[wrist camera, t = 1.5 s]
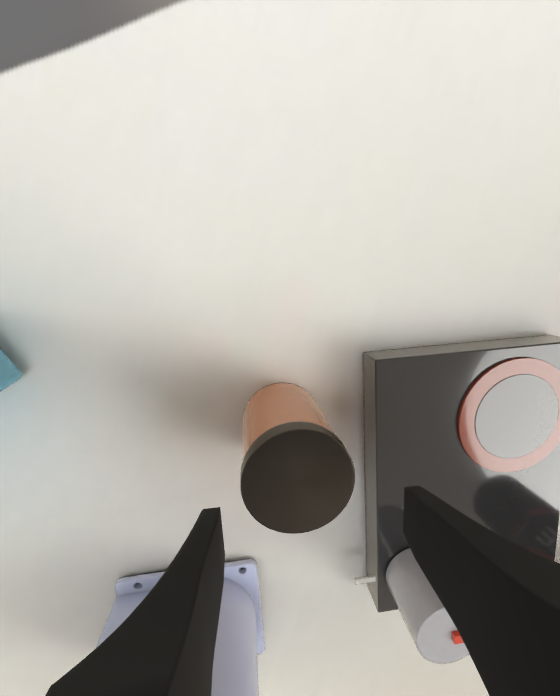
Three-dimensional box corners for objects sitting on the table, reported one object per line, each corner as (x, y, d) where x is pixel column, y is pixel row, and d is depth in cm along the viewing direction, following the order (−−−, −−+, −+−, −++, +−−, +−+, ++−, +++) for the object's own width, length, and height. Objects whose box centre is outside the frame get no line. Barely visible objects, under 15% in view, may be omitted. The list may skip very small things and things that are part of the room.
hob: (346, 600, 26) (356, 632, 23) (337, 354, 22) (349, 363, 19) (526, 571, 27) (552, 599, 25) (549, 334, 23) (583, 340, 21)
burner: (454, 477, 22) (457, 479, 22) (459, 363, 20) (462, 364, 20) (563, 463, 23) (566, 465, 22) (576, 351, 21) (580, 352, 21)
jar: (245, 460, 23) (246, 541, 16) (237, 385, 21) (235, 436, 15) (322, 451, 23) (356, 525, 16) (318, 377, 22) (353, 423, 15)
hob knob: (385, 600, 23) (418, 675, 19) (385, 550, 22) (419, 617, 18) (441, 591, 24) (486, 663, 19) (442, 542, 23) (490, 605, 18)
